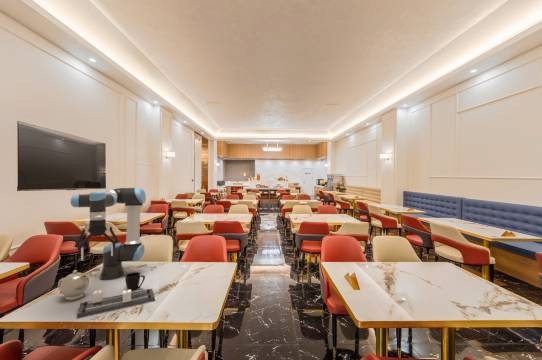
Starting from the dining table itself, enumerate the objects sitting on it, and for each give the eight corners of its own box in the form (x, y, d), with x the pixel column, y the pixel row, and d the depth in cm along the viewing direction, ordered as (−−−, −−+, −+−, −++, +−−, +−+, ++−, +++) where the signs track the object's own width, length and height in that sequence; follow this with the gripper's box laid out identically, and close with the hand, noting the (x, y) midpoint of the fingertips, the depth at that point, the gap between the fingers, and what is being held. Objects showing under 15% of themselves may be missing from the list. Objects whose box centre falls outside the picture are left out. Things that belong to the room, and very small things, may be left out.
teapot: (95, 292, 156) (95, 266, 156) (77, 303, 142) (77, 274, 142) (68, 292, 157) (68, 266, 157) (47, 302, 144) (47, 273, 144)
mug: (139, 292, 156) (140, 277, 156) (122, 291, 158) (122, 276, 158) (148, 287, 164) (148, 272, 164) (131, 286, 166) (131, 271, 166)
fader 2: (122, 299, 141) (122, 290, 141) (130, 298, 143) (130, 288, 143) (122, 302, 138) (122, 293, 138) (131, 300, 140) (131, 291, 140)
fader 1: (93, 300, 141) (93, 290, 141) (102, 298, 143) (102, 289, 143) (93, 303, 137) (93, 293, 137) (101, 301, 139) (101, 291, 139)
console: (80, 306, 139) (80, 300, 139) (152, 291, 158) (152, 286, 158) (77, 318, 127) (77, 312, 127) (154, 300, 145) (154, 295, 146)
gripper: (68, 222, 130) (67, 263, 130) (123, 218, 143) (123, 255, 143) (70, 220, 136) (69, 259, 136) (123, 216, 150) (123, 252, 150)
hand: (97, 257), depth 140 cm, fingers open, 13 cm apart
